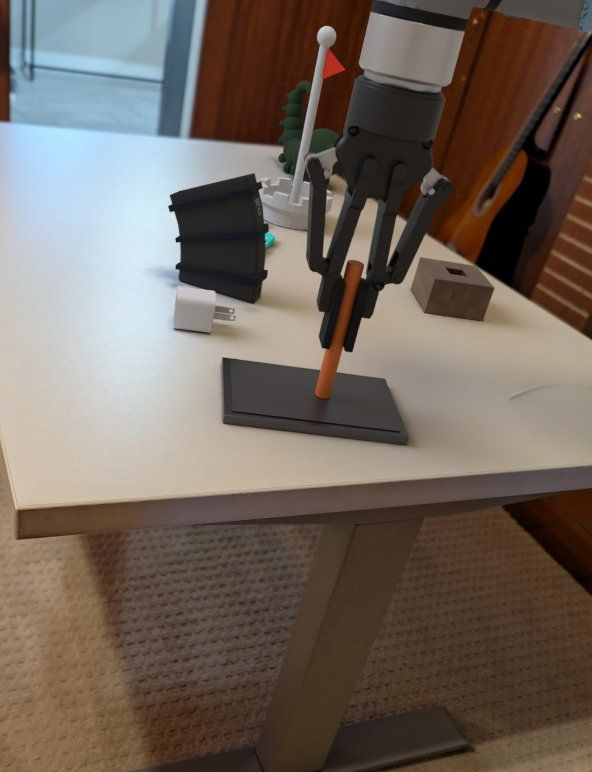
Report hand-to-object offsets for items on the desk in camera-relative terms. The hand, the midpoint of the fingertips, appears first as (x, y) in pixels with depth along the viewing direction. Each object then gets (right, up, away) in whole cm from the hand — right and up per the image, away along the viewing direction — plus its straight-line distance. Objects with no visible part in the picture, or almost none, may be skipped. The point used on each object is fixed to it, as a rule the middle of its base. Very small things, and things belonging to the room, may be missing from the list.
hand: (335, 343), depth 73 cm
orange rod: (-1, -5, +3) cm, 6 cm away
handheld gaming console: (-11, +20, +41) cm, 47 cm away
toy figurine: (+2, +46, +86) cm, 98 cm away
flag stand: (-2, +29, +58) cm, 65 cm away
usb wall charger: (-14, +4, +15) cm, 21 cm away
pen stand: (+20, +10, +35) cm, 42 cm away
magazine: (-14, +11, +26) cm, 31 cm away
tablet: (-2, -6, +3) cm, 7 cm away
